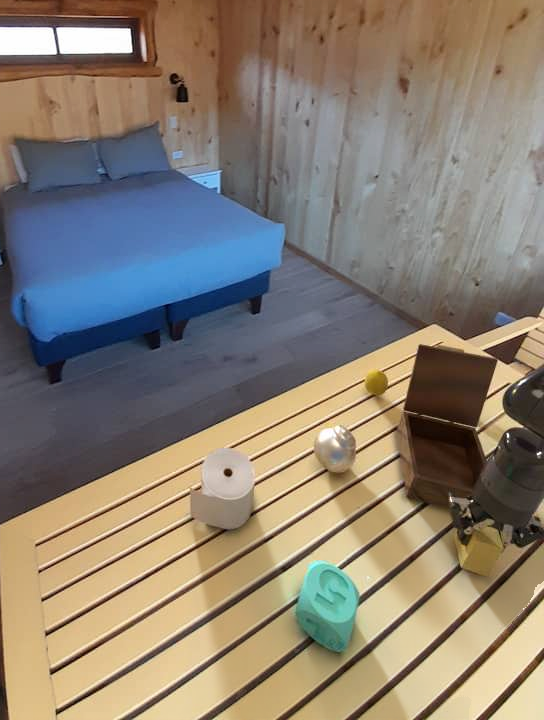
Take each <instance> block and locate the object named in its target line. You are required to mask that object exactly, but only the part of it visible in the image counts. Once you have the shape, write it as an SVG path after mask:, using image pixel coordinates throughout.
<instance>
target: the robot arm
mask: <svg viewBox="0 0 544 720" xmlns="http://www.w3.org/2000/svg"><path fill="white" fill-rule="evenodd" d="M501 401H502V409H503V411H504V413H505V414H506V415H507V417H508V418H510V419H511V420H513V421H515V422H516V423H517V424H519V425H521V427H519V426H514V427H510V428H508V429H506V430H505V431H504V432H503V433H502V435H501V437H500V439H499V441H498V443H497V445H496V447H495V449H494V451H493V453H492V454H491V455H490V456H489V457H488V459H486V460H487V462H486V464H485V466H484V468H483V470H482V472H481V474H480V476H479V478H478V480H477V482H476V484H475V486H474V490H473V493H472V494H471V495H468V496H467V497H466V499H464V498H456V495H455V494H454V493H448V501H449V507H450V510H449V513H450V516H451V520H452V527H453V528H454V529H456V530H455V531H456V535H458V540H459V541H461V544H462V545H464V546H467V544H468V542H469V540H470V538H471V537H472V533H474V532H475V531H476V530H477V531H481V530H483V529H484V528H485V527H492V528H494V529H497V530H498V532H499V535H500V538H501V541H502V544H503V547H504V550H503V551H502V553H504V551H505V549H506V548H507V547H510V546H511V545H515V547H516V548H519V549H523V548H525V547H527V546H529V545H531V544H533V543H534V542H536V541H538V540H540V539H542V538H543V537H544V526H543V524H542V521H541V519H540V517H539V516H536V515H534V514H535V512H536V511H537V510H538V509H539V506H540V505H541V503H542V502H543V501H544V363H542V364H541V365H539V367H537V368H536V369H534V370H532V371H531V372H529V373H527V374H526V375H524V376H523V377H521V378H519V379H518V380H516V381H515V382H514V383H512V384H510V386H509V387H507V388H506V390H505V391H504V393H503V396H502V400H501ZM466 507H468V508H467V512H466V513H465V514H462V513H463V512H462V511H463V510H464V508H466Z"/></svg>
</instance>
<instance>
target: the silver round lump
mask: <svg viewBox="0 0 544 720" xmlns="http://www.w3.org/2000/svg"><path fill="white" fill-rule="evenodd" d="M356 443H357V439H356V438H355V436H354V434H353V433H352V432H351V431H350V430H349V429H348V427H347V428H346V427H345V426H343V425H341V424H336V425H335V426H333V427H328V428H327V427H326V428H324V429H321V430H320V431H319V432H318V433H317V435H315V438H314V441H313V452H314V455H315V458H316V460H317V461H318V463H319V464H320V466H322V467H323V468H324V469H326V470H327V471H329V472H331V473H337V474H338V473H344V472H346V471H348V470H350V469H351V468H352V467H353V465H354V464H355V462H356V457H357V444H356Z"/></svg>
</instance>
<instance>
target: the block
mask: <svg viewBox="0 0 544 720" xmlns="http://www.w3.org/2000/svg"><path fill="white" fill-rule="evenodd" d="M454 543H455V547H456V552H457V556H458V561H459V565H460V568H461V569H463V570H466V571H469V572H472V573H476V574H478V575H481V576H485V577H488V575H489V573H490V572H491V571H492V569H493V567H494V566H495V565H496V563H497V561H498V560H499V558H500V556H501V555H502V553H503V552H504V551H505V549H504V547H503V544H502V541H501V538H500V535H499V532H498V530H497V529H494V528H492V527H485V528H484V529H483V530H481V531H477V530H476V531H475V532H474V533H472V537H471V538H470V540H469V542H468V544H467V546H464V545H462V544H461V541H459V540H458V535H457V534H456V535H455V537H454ZM503 550H504V551H503ZM502 551H503V552H502Z"/></svg>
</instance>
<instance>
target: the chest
mask: <svg viewBox="0 0 544 720" xmlns="http://www.w3.org/2000/svg"><path fill="white" fill-rule="evenodd" d="M396 436H397V443H398V449H399V457H400V465H401V471H402V479H403V485H404V491H405V497H406V498H408V499H412V500H415V501H418V502H421V503H425V504H429V505H431V506H435V507H438V508H442V509H445V510H449V511H450V507H449V501H448V493H454V494H455V495H456V498H464V499H466V497H467V496H468V495H471V494H472V493H473V490H474V486H475V484H476V482H477V480H478V478H479V476H480V474H481V472H482V470H483V468H484V466H485V464H486V462H487V460H488V459H487V457H486V454H485V452H484V449H483V445H482V443H481V441H480V437H479V434H478V432H477V429H476V427H471V426H467V425H463V424H459V423H454V422H450V421H446V420H442V419H437V418H433V417H429V416H424V415H420V414H416V413H412V412H407V411H404V410H403V411H402V413H401V416H400V419H399V422H398V424H397V429H396ZM467 508H468V507H466V508H464V510H463V511H462V512H463V513H462V514H461V515H464V514H465V513H466V512H467Z"/></svg>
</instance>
